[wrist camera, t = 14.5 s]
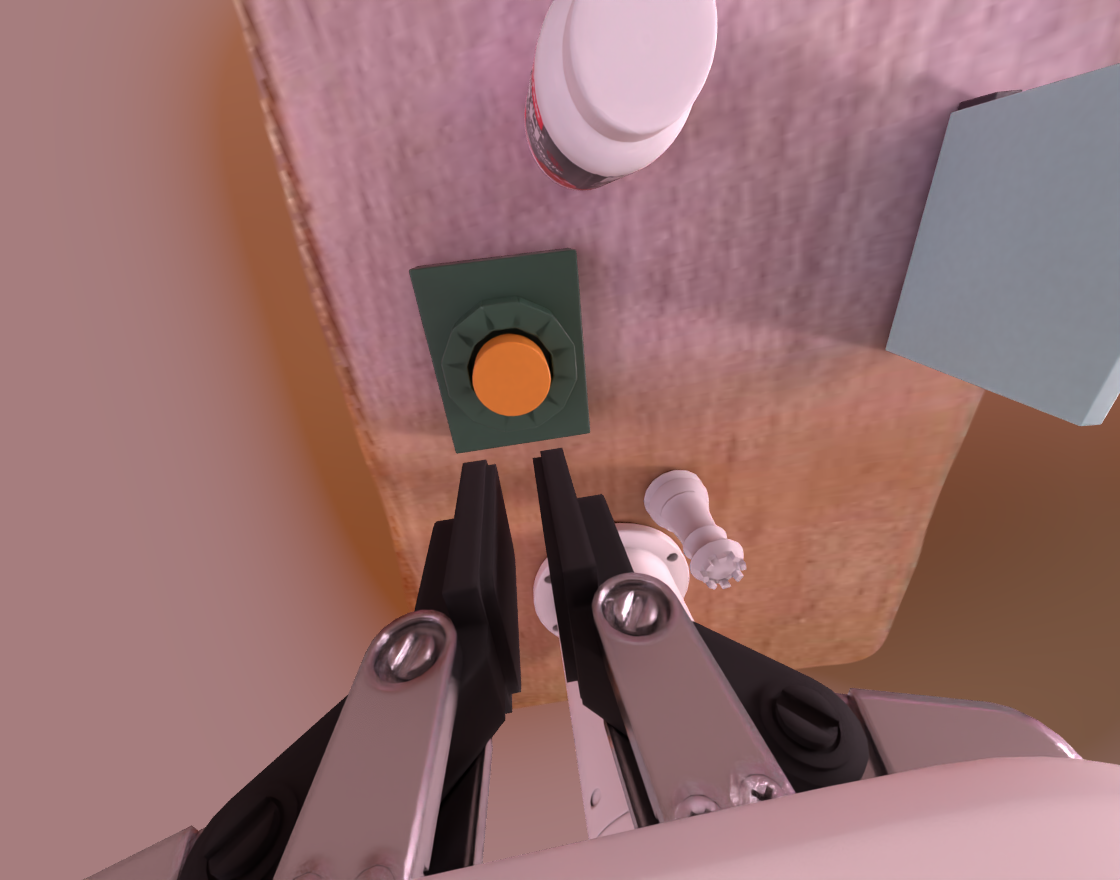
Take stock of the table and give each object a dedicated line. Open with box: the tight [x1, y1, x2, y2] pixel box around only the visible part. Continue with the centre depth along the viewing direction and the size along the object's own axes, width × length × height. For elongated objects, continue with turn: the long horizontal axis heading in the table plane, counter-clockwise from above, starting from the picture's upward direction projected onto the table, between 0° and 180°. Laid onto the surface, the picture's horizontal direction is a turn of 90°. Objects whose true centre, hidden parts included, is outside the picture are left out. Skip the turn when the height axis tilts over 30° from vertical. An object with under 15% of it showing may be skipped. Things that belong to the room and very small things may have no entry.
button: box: [472, 334, 551, 416], centre depth 19 cm, size 4×4×2 cm
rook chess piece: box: [644, 470, 746, 589], centre depth 26 cm, size 4×4×8 cm
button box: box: [409, 248, 590, 454], centre depth 22 cm, size 10×8×4 cm
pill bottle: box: [524, 0, 717, 191], centre depth 15 cm, size 5×5×10 cm
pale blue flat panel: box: [885, 63, 1120, 426], centre depth 18 cm, size 12×11×6 cm
